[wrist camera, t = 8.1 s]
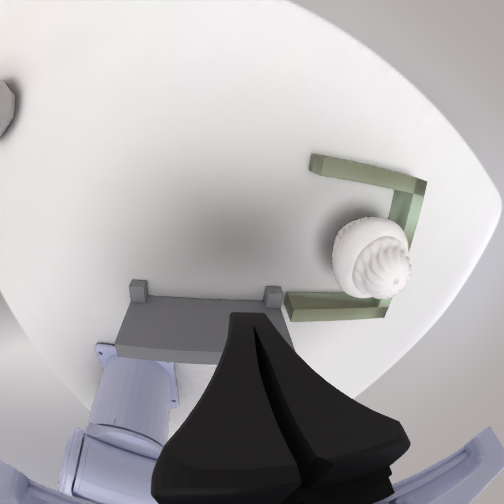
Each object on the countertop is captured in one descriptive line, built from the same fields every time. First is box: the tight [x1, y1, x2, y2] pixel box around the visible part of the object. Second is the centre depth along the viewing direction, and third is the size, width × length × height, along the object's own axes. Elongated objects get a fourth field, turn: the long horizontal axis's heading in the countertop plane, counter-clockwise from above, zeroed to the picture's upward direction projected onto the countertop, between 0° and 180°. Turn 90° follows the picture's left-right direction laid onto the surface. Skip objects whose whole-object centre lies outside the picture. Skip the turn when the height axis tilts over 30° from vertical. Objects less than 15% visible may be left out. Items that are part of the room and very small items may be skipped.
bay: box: [284, 154, 427, 322], centre depth 20 cm, size 12×9×2 cm
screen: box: [114, 280, 295, 364], centre depth 19 cm, size 4×12×6 cm, turn 83°
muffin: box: [332, 217, 411, 299], centre depth 18 cm, size 6×6×7 cm
